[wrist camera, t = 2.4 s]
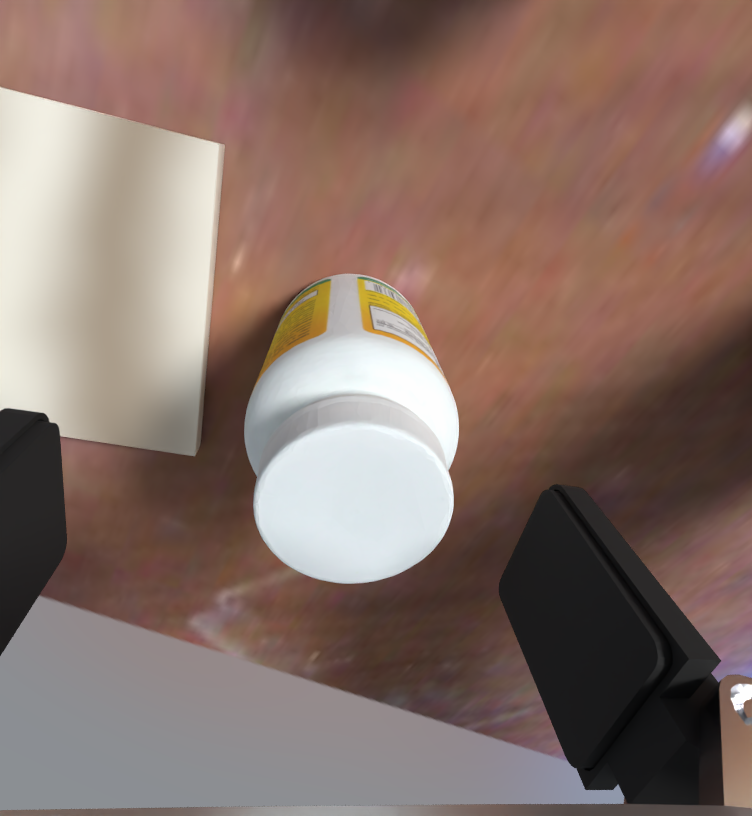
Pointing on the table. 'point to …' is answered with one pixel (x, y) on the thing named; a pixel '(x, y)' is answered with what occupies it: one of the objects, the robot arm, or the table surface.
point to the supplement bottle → (351, 435)
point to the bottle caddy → (106, 272)
